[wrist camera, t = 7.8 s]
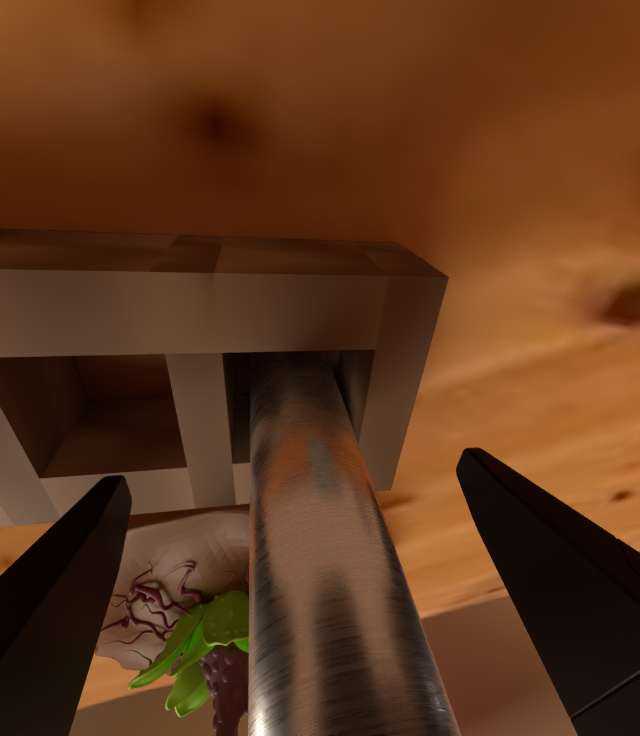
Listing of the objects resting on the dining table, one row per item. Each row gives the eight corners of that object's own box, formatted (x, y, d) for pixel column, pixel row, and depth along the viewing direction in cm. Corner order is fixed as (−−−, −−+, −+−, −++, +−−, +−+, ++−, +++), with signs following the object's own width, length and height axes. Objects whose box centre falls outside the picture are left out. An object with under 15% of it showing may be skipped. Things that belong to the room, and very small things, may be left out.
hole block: (-103, 453, 14) (-212, 547, 11) (-297, 218, 9) (-598, 258, 6) (364, 425, 18) (390, 489, 14) (398, 242, 13) (448, 277, 10)
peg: (252, 379, 15) (251, 834, 5) (249, 316, 13) (241, 800, 4) (319, 377, 16) (438, 787, 6) (324, 316, 14) (501, 738, 4)
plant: (355, 432, 18) (459, 726, 9) (388, 592, 29) (450, 800, 20) (-14, 531, 18) (-300, 944, 9) (159, 656, 29) (114, 898, 20)
